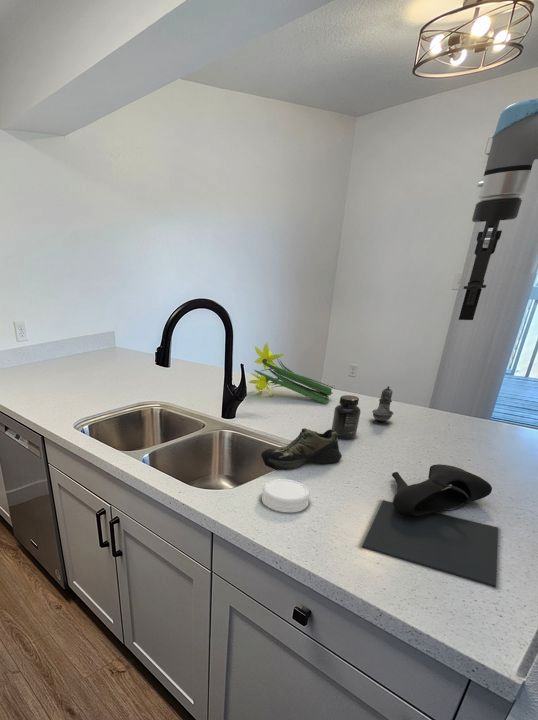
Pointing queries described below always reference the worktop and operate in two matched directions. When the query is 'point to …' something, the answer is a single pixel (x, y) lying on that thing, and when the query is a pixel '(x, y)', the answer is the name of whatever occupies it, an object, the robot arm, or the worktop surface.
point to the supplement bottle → (346, 417)
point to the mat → (436, 542)
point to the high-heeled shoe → (439, 491)
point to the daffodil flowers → (263, 380)
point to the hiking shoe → (304, 451)
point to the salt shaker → (383, 408)
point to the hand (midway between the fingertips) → (465, 319)
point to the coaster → (285, 495)
